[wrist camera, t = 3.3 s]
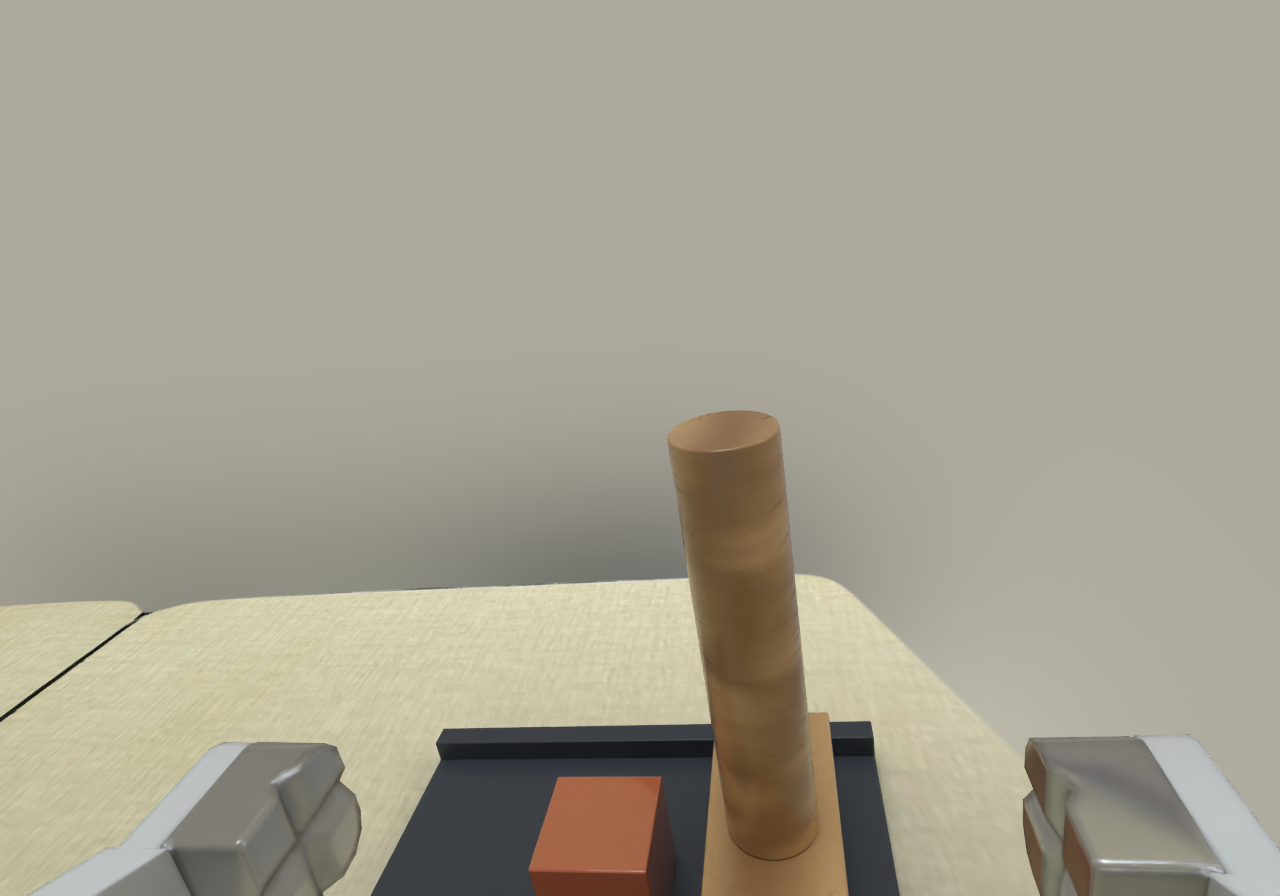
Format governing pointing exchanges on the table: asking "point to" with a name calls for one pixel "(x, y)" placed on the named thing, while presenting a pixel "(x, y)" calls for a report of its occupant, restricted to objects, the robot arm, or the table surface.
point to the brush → (754, 667)
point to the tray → (536, 756)
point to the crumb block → (605, 839)
